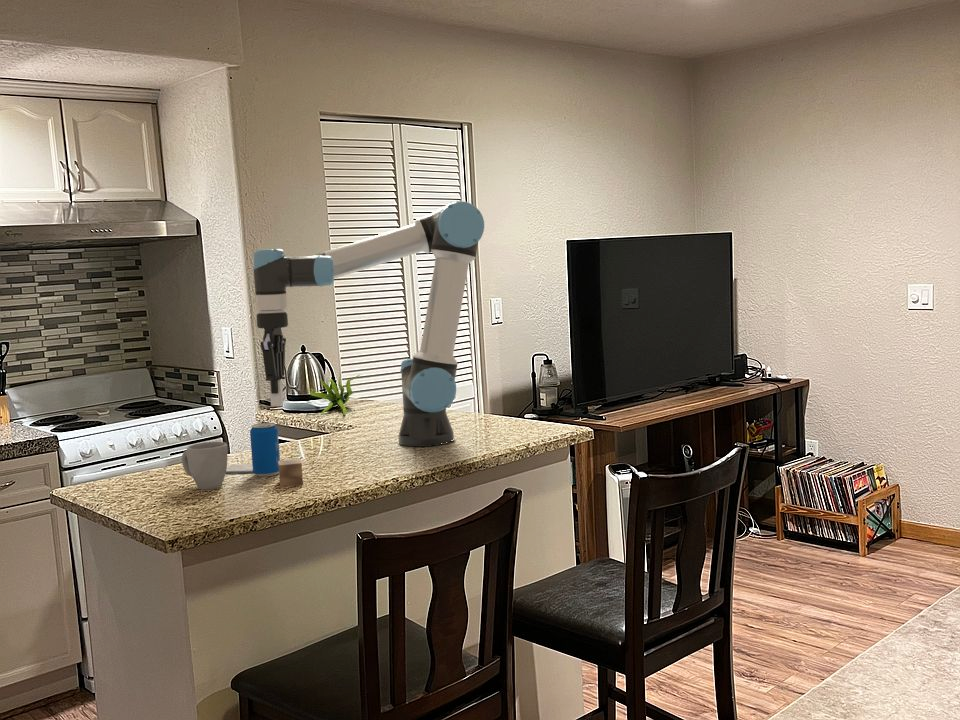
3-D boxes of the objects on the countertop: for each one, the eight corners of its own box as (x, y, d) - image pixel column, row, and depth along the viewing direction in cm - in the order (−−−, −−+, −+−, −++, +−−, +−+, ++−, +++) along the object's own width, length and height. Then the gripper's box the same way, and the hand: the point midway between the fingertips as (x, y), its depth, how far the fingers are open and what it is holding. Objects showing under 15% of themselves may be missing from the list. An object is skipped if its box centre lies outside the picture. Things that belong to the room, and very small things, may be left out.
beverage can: (274, 477, 216) (270, 427, 215) (248, 477, 217) (244, 427, 216) (285, 471, 222) (281, 422, 221) (260, 471, 224) (256, 422, 222)
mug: (238, 483, 211) (235, 442, 210) (210, 492, 203) (207, 450, 202) (198, 480, 217) (195, 440, 216) (170, 489, 209) (167, 447, 208)
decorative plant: (295, 420, 301) (292, 376, 300) (333, 406, 330) (331, 365, 328) (345, 420, 296) (342, 375, 295) (380, 406, 325) (377, 364, 323)
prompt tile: (267, 465, 231) (267, 462, 230) (255, 473, 221) (255, 470, 221) (232, 466, 231) (232, 463, 231) (218, 474, 222) (218, 471, 222)
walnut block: (301, 480, 212) (300, 459, 211) (303, 484, 207) (301, 463, 207) (279, 482, 211) (278, 461, 210) (280, 487, 206) (278, 465, 205)
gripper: (265, 311, 235) (271, 402, 237) (248, 313, 222) (253, 410, 224) (294, 310, 234) (299, 401, 236) (278, 312, 221) (283, 409, 223)
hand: (277, 405), depth 230 cm, fingers closed
